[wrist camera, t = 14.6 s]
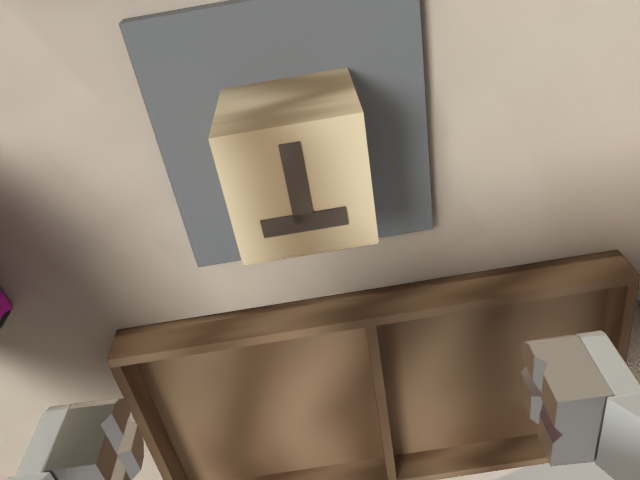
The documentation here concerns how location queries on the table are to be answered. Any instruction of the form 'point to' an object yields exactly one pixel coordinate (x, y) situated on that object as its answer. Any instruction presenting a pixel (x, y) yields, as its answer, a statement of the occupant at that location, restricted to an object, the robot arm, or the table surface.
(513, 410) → the walnut organizer
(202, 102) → the gray mat
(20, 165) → the table surface
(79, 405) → the robot arm
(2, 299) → the candy bar box
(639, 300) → the display case
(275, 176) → the maple block
